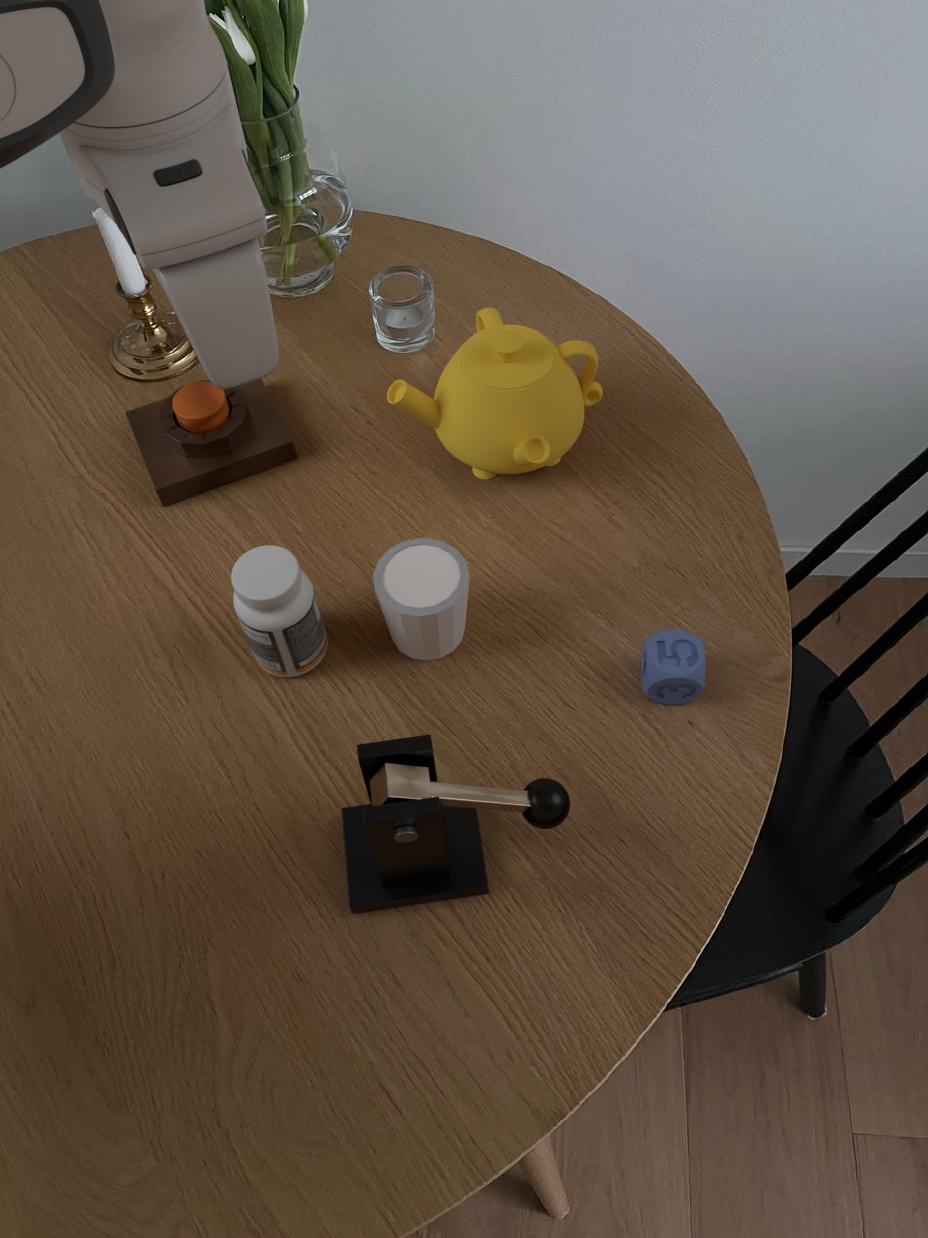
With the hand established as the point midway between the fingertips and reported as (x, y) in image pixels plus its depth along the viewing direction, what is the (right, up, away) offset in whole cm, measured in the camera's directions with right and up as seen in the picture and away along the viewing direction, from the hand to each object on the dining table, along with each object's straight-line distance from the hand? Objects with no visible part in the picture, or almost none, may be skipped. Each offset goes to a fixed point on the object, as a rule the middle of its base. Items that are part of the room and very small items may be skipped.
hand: (219, 341), depth 65 cm
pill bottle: (+2, -19, +15) cm, 25 cm away
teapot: (+18, -3, +25) cm, 31 cm away
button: (-7, 0, +24) cm, 25 cm away
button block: (-7, -2, +27) cm, 28 cm away
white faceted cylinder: (+12, -18, +16) cm, 27 cm away
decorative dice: (+30, -22, +12) cm, 39 cm away
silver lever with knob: (+15, -29, +1) cm, 33 cm away
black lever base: (+12, -33, +6) cm, 35 cm away
